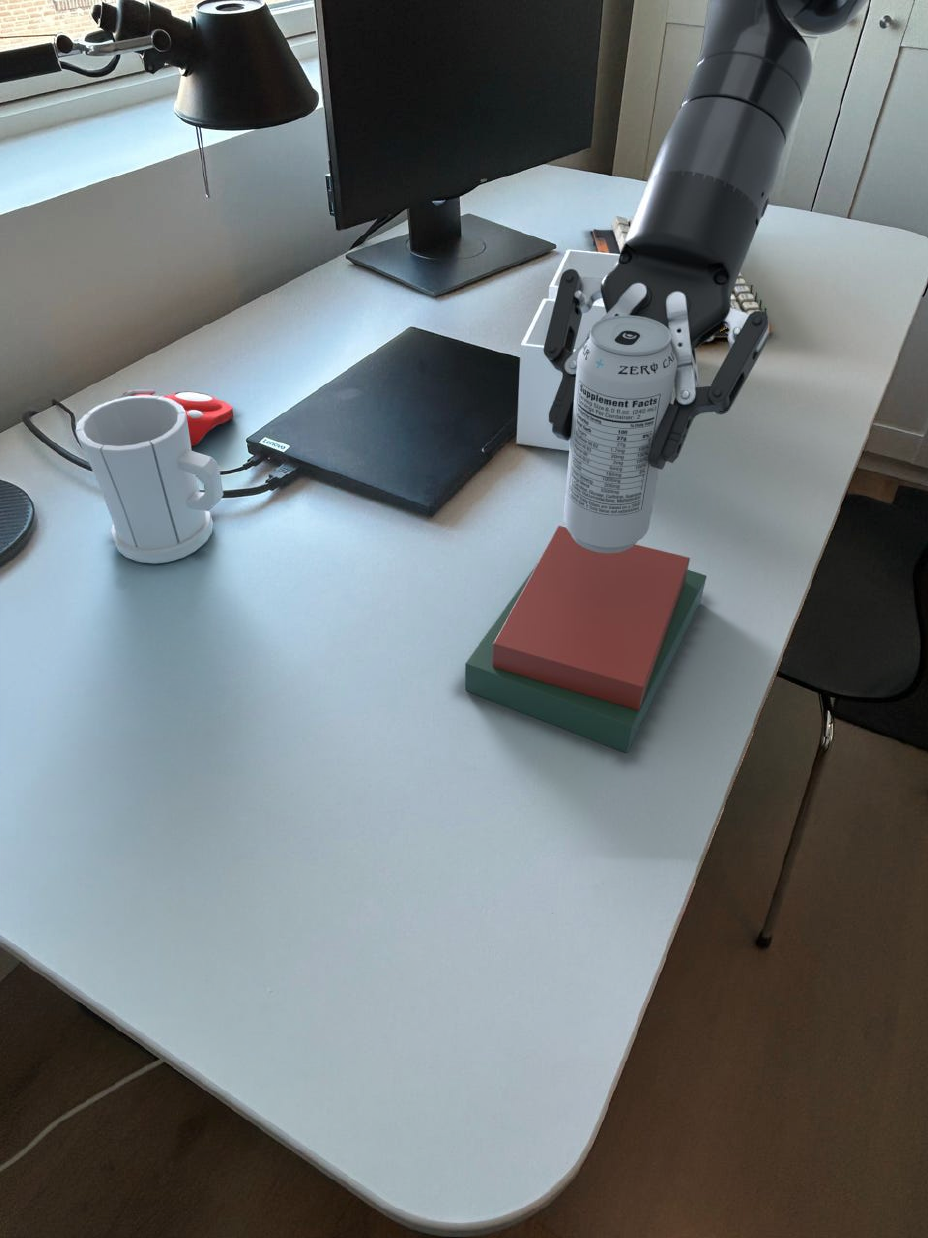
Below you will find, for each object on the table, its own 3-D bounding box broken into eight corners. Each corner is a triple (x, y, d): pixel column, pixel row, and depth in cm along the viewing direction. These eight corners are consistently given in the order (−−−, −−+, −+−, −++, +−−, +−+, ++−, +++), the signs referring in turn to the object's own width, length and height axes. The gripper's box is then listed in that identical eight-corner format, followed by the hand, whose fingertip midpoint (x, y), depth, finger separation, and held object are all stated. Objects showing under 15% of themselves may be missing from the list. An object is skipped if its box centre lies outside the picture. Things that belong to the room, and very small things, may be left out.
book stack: (558, 557, 78) (562, 506, 75) (700, 602, 74) (712, 551, 70) (465, 690, 67) (464, 639, 63) (626, 753, 62) (637, 702, 59)
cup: (225, 496, 85) (199, 383, 77) (239, 552, 79) (212, 436, 71) (112, 517, 83) (73, 403, 75) (118, 577, 77) (76, 460, 68)
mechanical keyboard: (589, 232, 136) (591, 209, 133) (712, 232, 136) (716, 209, 133) (624, 346, 108) (627, 320, 106) (777, 346, 108) (784, 320, 106)
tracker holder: (231, 387, 98) (236, 411, 90) (229, 426, 100) (235, 453, 92) (114, 377, 94) (109, 401, 86) (115, 418, 96) (110, 445, 88)
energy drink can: (659, 521, 64) (695, 323, 53) (628, 568, 60) (660, 366, 49) (583, 497, 66) (603, 303, 55) (548, 541, 62) (563, 342, 52)
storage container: (560, 338, 110) (567, 249, 102) (649, 348, 107) (662, 258, 100) (516, 443, 92) (520, 344, 84) (621, 458, 90) (635, 358, 82)
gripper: (585, 148, 55) (489, 403, 56) (818, 187, 49) (708, 468, 50) (610, 211, 62) (524, 437, 63) (817, 250, 56) (720, 497, 57)
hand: (607, 449), depth 56 cm, fingers closed on energy drink can, 6 cm apart
